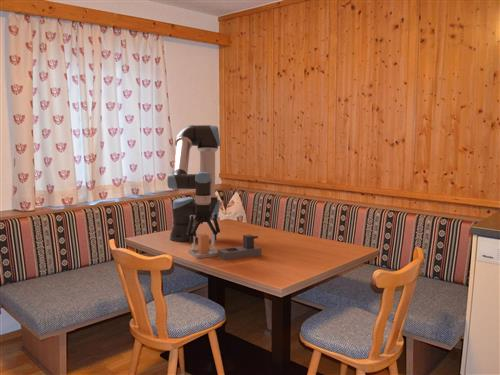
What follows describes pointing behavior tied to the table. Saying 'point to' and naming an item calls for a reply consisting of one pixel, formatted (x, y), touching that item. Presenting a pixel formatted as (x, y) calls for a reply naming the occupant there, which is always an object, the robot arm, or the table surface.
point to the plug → (203, 244)
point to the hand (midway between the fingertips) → (203, 248)
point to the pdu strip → (241, 249)
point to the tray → (196, 255)
